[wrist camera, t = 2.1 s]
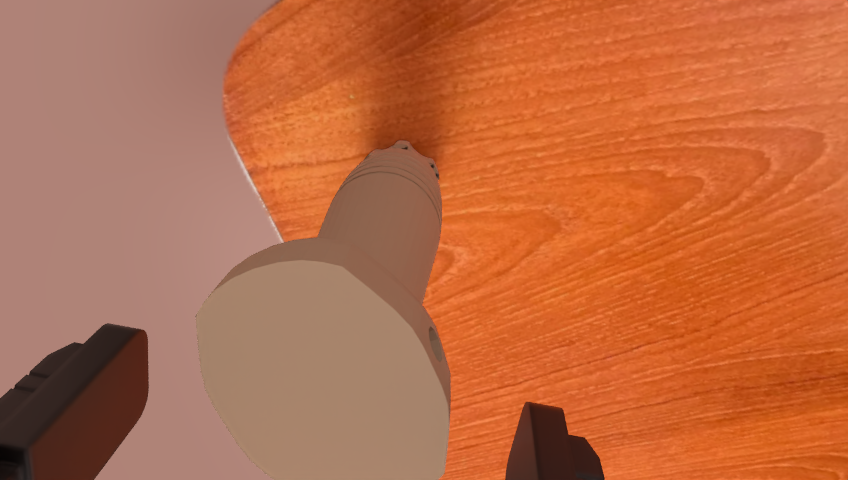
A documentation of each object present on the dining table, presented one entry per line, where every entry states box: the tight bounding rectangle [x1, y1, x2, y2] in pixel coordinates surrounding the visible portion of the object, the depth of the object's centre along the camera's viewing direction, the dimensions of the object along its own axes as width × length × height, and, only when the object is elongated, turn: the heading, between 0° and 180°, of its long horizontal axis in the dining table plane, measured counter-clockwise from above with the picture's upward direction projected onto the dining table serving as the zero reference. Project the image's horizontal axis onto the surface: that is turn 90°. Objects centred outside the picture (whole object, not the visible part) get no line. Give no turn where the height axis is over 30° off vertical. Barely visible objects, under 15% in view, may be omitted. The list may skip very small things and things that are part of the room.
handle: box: [196, 140, 451, 480], centre depth 20 cm, size 5×6×15 cm
